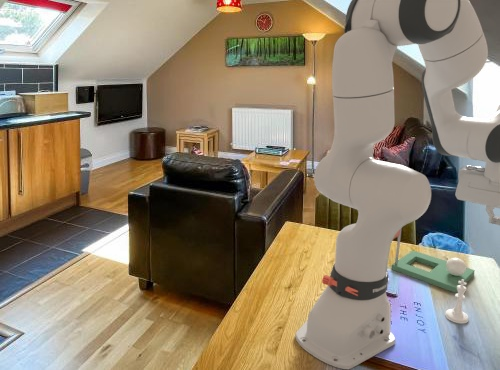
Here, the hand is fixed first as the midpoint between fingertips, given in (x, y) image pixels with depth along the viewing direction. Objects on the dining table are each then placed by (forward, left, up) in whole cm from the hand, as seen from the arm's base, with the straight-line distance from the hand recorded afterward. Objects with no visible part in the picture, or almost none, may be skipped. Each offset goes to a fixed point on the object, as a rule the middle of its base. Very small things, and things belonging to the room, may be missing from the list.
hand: (495, 223), depth 97 cm
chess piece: (-18, +1, -19) cm, 26 cm away
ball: (0, +8, -15) cm, 17 cm away
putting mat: (-2, +13, -19) cm, 23 cm away
